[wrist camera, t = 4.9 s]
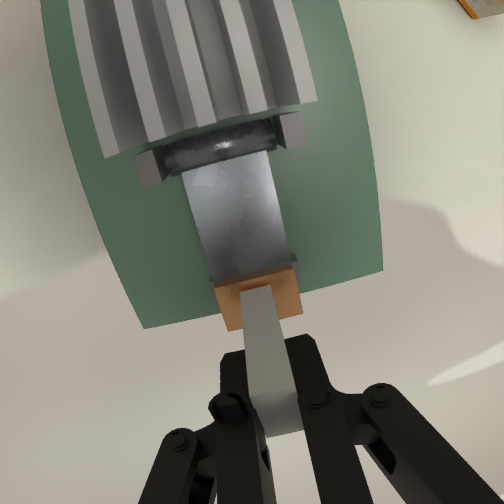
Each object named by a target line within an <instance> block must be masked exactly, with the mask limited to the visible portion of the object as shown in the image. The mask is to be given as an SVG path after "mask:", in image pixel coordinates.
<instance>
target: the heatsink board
mask: <svg viewBox="0 0 504 504" xmlns="http://www.w3.org/2000/svg"><path fill="white" fill-rule="evenodd" d="M40 1H41V11H42V19H43V26H44V33H45V40H46V46H47V52H48V57H49V63H50V68H51V73H52V77H53V82H54V87H55V91H56V95H57V100H58V104H59V108H60V112H61V116H62V120H63V123H64V127H65V131H66V134H67V138H68V141H69V145H70V148H71V151H72V155H73V158H74V161H75V164H76V167H77V170H78V173H79V176H80V179H81V182H82V185H83V188H84V191H85V194H86V197H87V200H88V202H89V205H90V208H91V210H92V213H93V216H94V218H95V221H96V224H97V226H98V229H99V231H100V234H101V236H102V239H103V241H104V244H105V246H106V248H107V251H108V253H109V256H110V258H111V260H112V263H113V265H114V267H115V269H116V271H117V274H118V276H119V278H120V281H121V283H122V285H123V287H124V289H125V291H126V294H127V296H128V298H129V300H130V302H131V304H132V306H133V308H134V310H135V312H136V314H137V316H138V318H139V320H140V322H141V324H142V326H143V328H144V329H147V328H152V327H157V326H162V325H167V324H172V323H176V322H182V321H186V320H190V319H195V318H200V317H205V316H209V315H213V314H218V313H222V312H221V309H220V306H219V303H218V300H217V297H216V294H215V291H214V281H213V278H212V275H211V272H210V268H209V265H208V262H207V259H206V256H205V252H204V249H203V246H202V243H201V239H200V236H199V233H198V230H197V226H196V223H195V220H194V216H193V213H192V210H191V206H190V203H189V199H188V196H187V192H186V189H185V185H184V182H183V178H182V175H178V176H175V177H171V176H170V174H169V172H168V170H167V167H166V164H165V161H164V156H163V145H166V144H169V143H172V142H176V141H179V140H182V139H186V138H189V137H192V136H196V135H199V134H203V133H207V132H210V131H214V130H218V129H221V128H225V127H229V126H233V125H237V124H241V123H246V122H250V121H254V120H259V119H263V118H268V117H269V119H270V121H271V124H272V127H273V130H274V134H275V139H276V145H277V150H274V151H270V152H267V156H268V160H269V165H270V169H271V173H272V177H273V181H274V186H275V190H276V194H277V199H278V203H279V207H280V212H281V216H282V221H283V225H284V230H285V234H286V239H287V243H288V248H289V253H290V257H291V262H292V265H293V268H294V271H295V276H296V280H297V285H298V290H299V294H300V293H304V292H308V291H312V290H315V289H319V288H323V287H327V286H331V285H334V284H338V283H341V282H345V281H349V280H352V279H356V278H359V277H363V276H366V275H370V274H373V273H376V272H380V271H383V257H382V256H383V255H382V241H381V240H382V239H381V224H380V212H379V202H378V192H377V183H376V175H375V167H374V160H373V153H372V146H371V139H370V133H369V127H368V122H367V116H366V111H365V105H364V100H363V95H362V90H361V86H360V81H359V77H358V72H357V68H356V64H355V59H354V55H353V51H352V48H351V44H350V40H349V36H348V33H347V29H346V25H345V22H344V19H343V15H342V12H341V9H340V5H339V2H338V0H40Z"/></svg>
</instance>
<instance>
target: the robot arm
mask: <svg viewBox="0 0 504 504" xmlns="http://www.w3.org/2000/svg"><path fill="white" fill-rule="evenodd" d="M240 300H241V311H242V323H243V334H244V345H245V349H244V350H240V351H236V352H230V353H225V355H224V357H223V358H222V360H221V362H220V373H221V374H220V381H221V382H220V393H219V394H217V395H216V396H214V397H213V399H212V400H211V401H210V403H209V406H208V409H209V411H210V413H211V415H212V416H213V418H214V420H215V421H214V422H213V423H212V424H210V425H208V426H206V427H204V428H202V429H200V430H197V431H195V432H193V431H192V430H190V429H187V428H178V429H175V430H172V431H171V432H169V433H168V434H167V435H166V436H165V438H164V439H163V441H162V443H161V446H160V448H159V451H158V454H157V456H156V459H155V461H154V464H153V466H152V469H151V472H150V474H149V477H148V479H147V482H146V484H145V487H144V489H143V492H142V495H141V497H140V500H139V502H138V504H214V501H215V497H216V493H217V504H277V503H276V496H275V489H274V482H273V476H272V468H271V462H270V455H269V449H268V447H267V444H266V439H265V435H266V437H267V438H269V437H274V436H279V435H283V434H288V433H292V432H296V431H301V430H304V431H305V435H306V439H307V444H308V448H309V452H310V456H311V461H312V465H313V470H314V474H315V478H316V483H317V487H318V492H319V496H320V500H321V504H374V503H373V500H372V497H371V494H370V491H369V488H368V485H367V482H366V478H365V476H364V472H363V469H362V466H361V463H360V460H359V457H358V455H357V451H356V449H355V446H354V445H363V447H364V448H365V449H366V451H367V452H368V453H369V455H370V456H371V457H372V459H373V460H374V462H375V463H376V464H377V466H378V467H379V468H380V470H381V471H382V472H383V473H384V475H385V476H386V478H387V479H388V480H389V481H390V483H391V484H392V485H393V487H394V488H395V490H396V491H397V492H398V493H399V495H400V496H401V497H402V499H403V500H404V501H405V503H406V504H504V501H503V500H502V499H501V498H500V497H499V496H498V495H497V494H496V493H495V492H494V491H493V490H492V489H491V488H490V486H488V484H487V483H486V482H485V481H484V480H483V479H482V478H481V477H480V476H479V475H478V474H477V473H476V472H475V471H474V469H472V467H471V466H470V465H469V464H468V463H467V462H466V461H465V460H464V459H463V458H462V457H461V456H460V455H459V454H458V452H457V451H455V449H454V448H453V447H452V446H451V445H450V444H449V443H448V442H447V441H446V440H445V439H444V438H443V437H442V436H441V435H440V434H439V432H437V430H436V429H435V428H434V427H433V426H432V425H431V424H430V423H429V422H428V421H427V420H426V419H425V418H424V417H423V416H422V415H421V414H420V413H419V411H418V410H417V409H416V408H415V407H414V406H413V405H412V404H411V403H410V402H409V401H408V400H407V399H406V398H405V397H404V396H403V395H402V394H401V393H400V392H399V391H398V390H397V389H396V388H395V387H394V386H392V385H390V384H386V383H378V384H374V385H372V386H369V387H368V388H367V389H366V390H365V391H364V392H363V394H345V393H342V392H339V391H337V390H336V389H334V388H333V387H332V385H331V383H330V381H329V378H328V375H327V373H326V370H325V367H324V364H323V361H322V359H321V356H320V353H319V351H318V348H317V345H316V342H315V340H314V339H313V338H312V337H311V336H309V335H308V334H303V335H299V336H295V337H292V338H288V339H284V338H283V334H282V330H281V326H280V322H279V318H278V314H277V310H276V306H275V302H274V298H273V294H272V290H271V286H270V285H267V286H263V287H259V288H254V289H250V290H246V291H242V292H240Z"/></svg>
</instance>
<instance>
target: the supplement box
mask: <svg viewBox="0 0 504 504" xmlns="http://www.w3.org/2000/svg"><path fill="white" fill-rule="evenodd" d="M459 2H460V3H461V4H462V5H463V7H464V8H465V9H466V10H467V12H468V13H469V14H470V15H471V17H472V18H473V19H477V18H483V17H487V16H492V15H498V14H503V13H504V0H459Z"/></svg>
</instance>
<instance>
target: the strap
mask: <svg viewBox="0 0 504 504" xmlns="http://www.w3.org/2000/svg"><path fill="white" fill-rule="evenodd" d="M274 150H277V145H276V139H275V134H274V130H273V127H272V124H271V121H270V119H269V117H268V118H263V119H259V120H254V121H250V122H246V123H241V124H237V125H233V126H229V127H225V128H221V129H218V130H214V131H210V132H207V133H203V134H199V135H196V136H192V137H189V138H186V139H182V140H179V141H176V142H172V143H169V144H166V145H163V156H164V161H165V164H166V167H167V170H168V172H169V174H170V176H171V177H175V176H178V175H182V178H183V182H184V185H185V189H186V192H187V196H188V199H189V203H190V206H191V210H192V213H193V216H194V220H195V223H196V226H197V230H198V233H199V236H200V239H201V243H202V246H203V249H204V252H205V256H206V259H207V262H208V265H209V268H210V272H211V275H212V278H213V281H214V291H215V294H216V297H217V300H218V303H219V306H220V309H221V312H222V315H223V318H224V321H225V323H226V326H227V330H228V331H233V330H238V329H242V328H243V323H242V311H241V300H240V292H242V291H246V290H250V289H254V288H259V287H263V286H267V285H270V286H271V290H272V294H273V298H274V302H275V306H276V310H277V314H278V318H279V320H280V319H284V318H288V317H292V316H296V315H300V314H303V310H302V305H301V301H300V295H299V290H298V285H297V280H296V276H295V271H294V268H293V265H292V262H291V257H290V253H289V248H288V243H287V239H286V234H285V230H284V225H283V221H282V216H281V212H280V207H279V203H278V199H277V194H276V190H275V186H274V181H273V177H272V173H271V169H270V165H269V160H268V156H267V152H270V151H274Z"/></svg>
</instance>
